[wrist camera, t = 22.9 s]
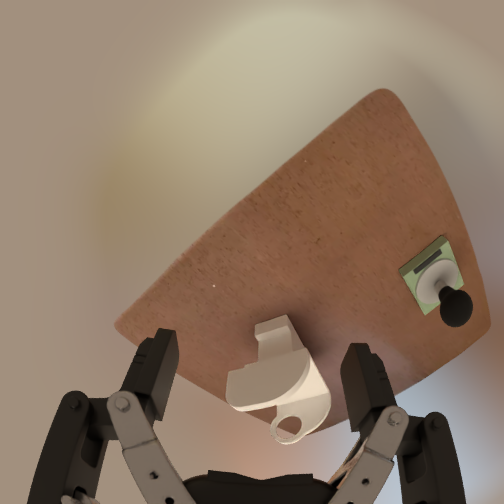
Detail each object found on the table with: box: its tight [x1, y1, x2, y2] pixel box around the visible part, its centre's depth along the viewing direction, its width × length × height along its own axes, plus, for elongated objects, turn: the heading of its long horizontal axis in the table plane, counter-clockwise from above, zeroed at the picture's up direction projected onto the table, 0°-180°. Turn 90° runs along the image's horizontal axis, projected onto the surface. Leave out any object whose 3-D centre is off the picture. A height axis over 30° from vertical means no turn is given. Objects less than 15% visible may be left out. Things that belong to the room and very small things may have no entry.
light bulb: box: [434, 280, 473, 327], centre depth 35 cm, size 6×6×10 cm
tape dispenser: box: [225, 314, 331, 444], centre depth 43 cm, size 14×13×18 cm
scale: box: [399, 235, 464, 315], centre depth 41 cm, size 12×10×3 cm
